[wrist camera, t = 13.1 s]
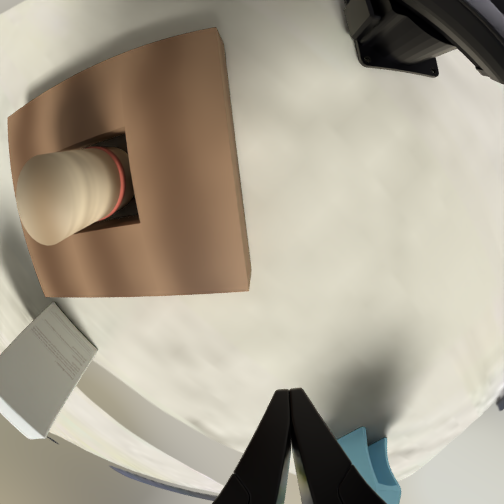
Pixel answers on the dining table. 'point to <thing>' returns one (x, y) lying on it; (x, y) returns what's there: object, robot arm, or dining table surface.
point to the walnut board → (147, 173)
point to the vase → (372, 464)
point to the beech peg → (72, 191)
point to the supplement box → (42, 371)
